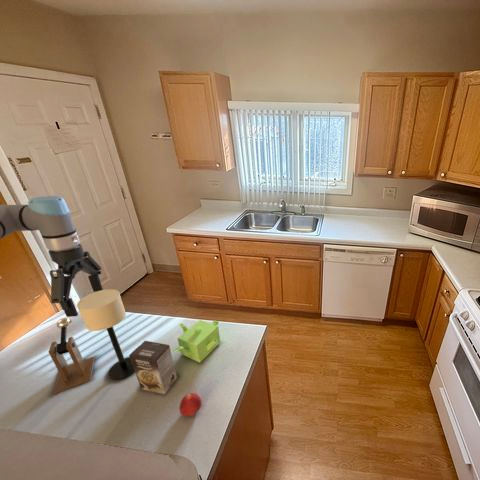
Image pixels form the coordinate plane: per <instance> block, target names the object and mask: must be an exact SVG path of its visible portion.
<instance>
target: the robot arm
mask: <svg viewBox="0 0 480 480" xmlns="http://www.w3.org/2000/svg"><path fill="white" fill-rule="evenodd" d="M29 231H39V233H40V235H41V238H42V240H43V243H44V246H45V248H46V250H48V254H49V258H50V259H51V262H53V263H55V264H57V268H56V269H52V270H49V276H50V303H51V304H59V306H60V308H61V310H62V311H64V315H65V316H66V318H70V317H71V318H73V317H78V315H79V312H78V311H77V310H78V309H77V308H76V306H75V303H74V301H73V298H72V297H70V295H71V290H72V285H73V284H72V283H73V280H74V279H75V277H76V275H77V274H78V273H79V272H83V273H85V274H87V275H88V276H87V278H88V281H89V283H90V287H91V290H92V291H93V292H92V293H94V292H97V291H101V290H104V288H103V286H102V283H101V279H100V276H99V275H102V266H101V265H99V263H97V262H96V260H95V259H94V258H93V257H92V256H91V254H90V252H89V251H88V250H87V251H86V250H85V251H84V248H83V245H82V244H81V240H80V237H79V235H78V233H77V229H76V227H75V223H74V221H73V218H72V214H71V210H70V209H69V207H68V205H67V202H66V200H65V199H64V198H63V197H61V196H57V195H47V196H37V197H33V198H30V199H28V201H27V204H3V203H2V204H1V203H0V240H2V239H4V238H6V237H8V236H10V235H12V234H15V233H17V232H29Z"/></svg>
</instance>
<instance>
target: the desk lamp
mask: <svg viewBox="0 0 480 480" xmlns="http://www.w3.org/2000/svg"><path fill="white" fill-rule="evenodd" d="M76 307H77V310H78V313H79V314H80V316H81V319H82V321H83V323H84V327H85V328H86V330H88V331H92V332H98V331H104V330H106V331H107V334H108V336H109V340H110V341H111V342H110V343H111V345H112V347H113V350H114V353H115V355H116V358H117V360H118V361H116V362H115V363H114V364H113V365H112V366H111V367H110V368H109V370H108V372H107V376H108V378H109V379H110V380H112V381H120V380H124V379H126V378H129V377H130V376H132V375H133V374H134V373H135V370H134V368H133V365H132V362H131V359H130V356H128V357H125V356H124V353H123V351H122V348H121V345H120V342H119V340H118V337H117V335H116V331H115V329H114V327H115V326H116V325H118V324H120V323H121V322H122V321H123V320H124V319H125V318H126V315H127V311H126V310H125V305H124V303H123V300H122V296H121V294H120V291H118V290H117V289H113V288H112V289H111V288H110V289H103V290H101V291H97V292H92V293H91V292H90V293H89V294H87V295H85V296H84V297H82V298H81V299H79V301H78V302H77V304H76Z"/></svg>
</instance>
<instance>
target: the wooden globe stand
mask: <svg viewBox="0 0 480 480" xmlns="http://www.w3.org/2000/svg"><path fill="white" fill-rule="evenodd" d="M66 342H67V345H66V348H67V350H68V352H67V353H68V355H69V356H70V358H71V360H72V362H73V363H71V364H68V362H67V360H66V358H65V356H64V354H61V355H59V354H58V353H57V344H58V342H57V341H56V340H55V341H52V342H51V344H50V347H49V348H48V354H49V356H50V358H51V360H52V362H53V363H54V366H55V367H56V370H57V371H58V373H59V374H58V377H57V380H56V383H55V386H54V390H53V393H52V394H53V395H54V394H58V393H60V392H63V391H65V390H68V389H72V388H74V387H77V386H79V385H82V384H85V383H88V382H91V380H92V376H93V370H94V365H95V359H96V357H95V356H92V357H89V358H86V359H84V358H83V356H82V354H81V352H80V349H79V347H78V345H77V343H76V341H75V338H74V336H69V337H68V339H67V341H66Z"/></svg>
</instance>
